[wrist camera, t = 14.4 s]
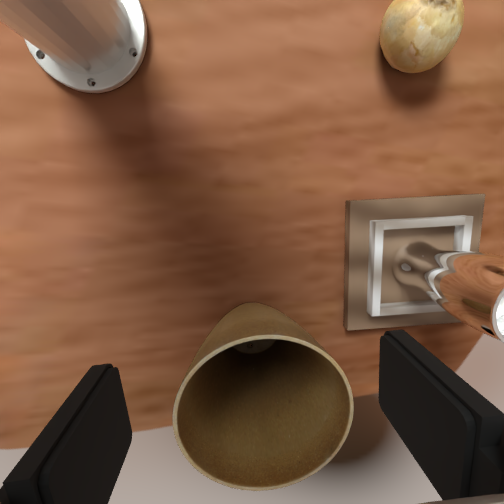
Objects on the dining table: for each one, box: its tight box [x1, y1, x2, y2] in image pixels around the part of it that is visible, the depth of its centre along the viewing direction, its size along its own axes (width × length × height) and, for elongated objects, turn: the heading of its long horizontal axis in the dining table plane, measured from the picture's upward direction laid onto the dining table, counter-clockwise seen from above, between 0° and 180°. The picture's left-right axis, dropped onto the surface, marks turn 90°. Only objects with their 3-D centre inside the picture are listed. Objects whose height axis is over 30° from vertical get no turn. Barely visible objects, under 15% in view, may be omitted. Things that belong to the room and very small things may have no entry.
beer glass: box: [392, 240, 504, 342], centre depth 29 cm, size 7×7×15 cm
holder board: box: [344, 194, 485, 330], centre depth 37 cm, size 17×17×3 cm
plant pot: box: [173, 302, 354, 491], centre depth 31 cm, size 15×15×16 cm
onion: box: [379, 0, 464, 73], centre depth 29 cm, size 8×8×7 cm
